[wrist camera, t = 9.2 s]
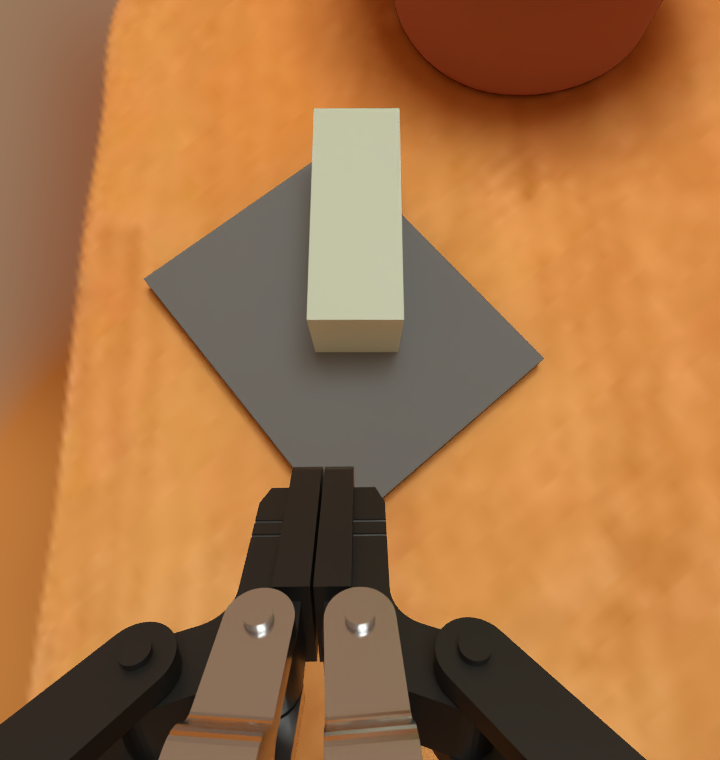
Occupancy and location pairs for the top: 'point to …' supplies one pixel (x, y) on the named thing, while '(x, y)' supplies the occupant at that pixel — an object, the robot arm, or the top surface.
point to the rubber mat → (339, 369)
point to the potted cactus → (525, 40)
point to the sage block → (356, 231)
